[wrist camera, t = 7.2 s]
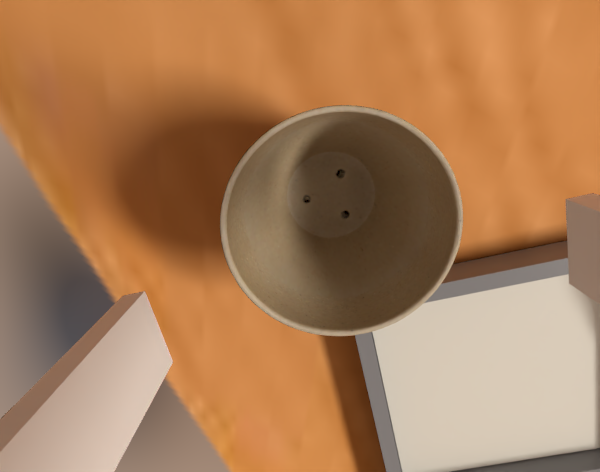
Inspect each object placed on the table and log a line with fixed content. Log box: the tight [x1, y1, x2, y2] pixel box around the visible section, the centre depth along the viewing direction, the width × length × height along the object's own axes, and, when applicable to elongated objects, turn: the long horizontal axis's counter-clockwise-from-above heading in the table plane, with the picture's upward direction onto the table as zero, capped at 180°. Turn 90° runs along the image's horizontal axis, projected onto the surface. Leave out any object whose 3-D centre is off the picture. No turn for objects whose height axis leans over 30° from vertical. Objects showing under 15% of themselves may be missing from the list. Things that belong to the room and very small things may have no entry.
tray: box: [355, 241, 600, 472], centre depth 26 cm, size 17×17×2 cm
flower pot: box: [220, 105, 463, 336], centre depth 20 cm, size 10×10×7 cm
